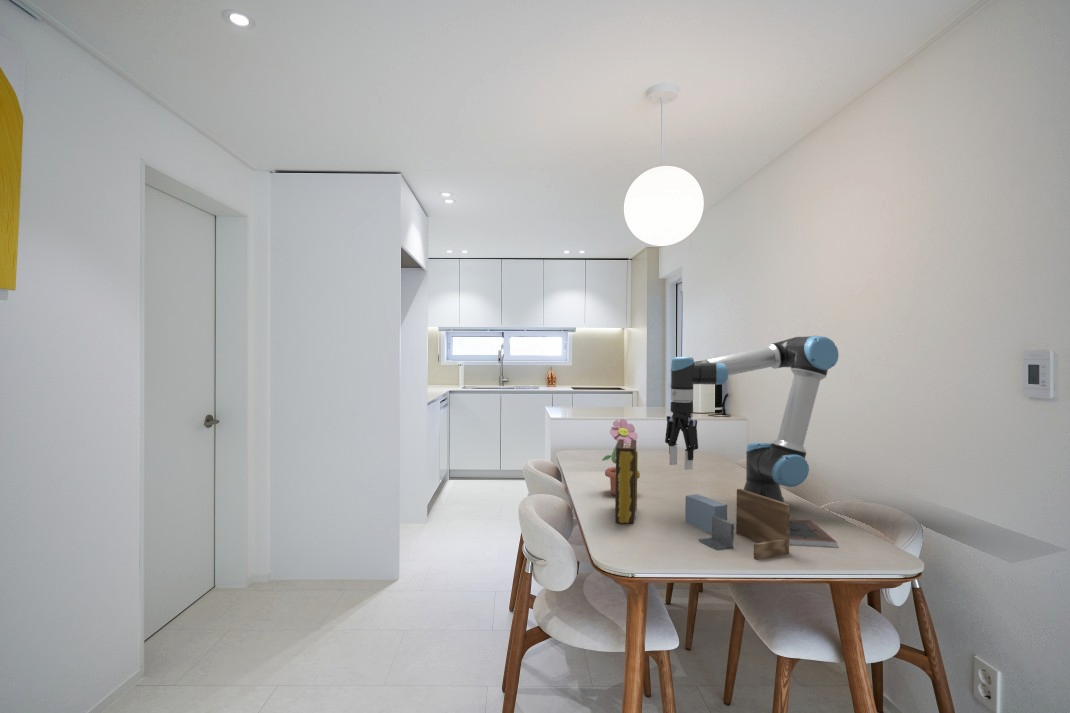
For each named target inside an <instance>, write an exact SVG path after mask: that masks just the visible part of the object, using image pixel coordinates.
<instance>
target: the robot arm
mask: <svg viewBox="0 0 1070 713" xmlns="http://www.w3.org/2000/svg"><path fill="white" fill-rule="evenodd" d="M839 355H840V354H839V349H838V347H837V345H836V344H835V342H834V340H832V339H830V338H829V337H826V336H822V335H821V336H819V335H812V336H811V335H810V336H809V335H807V336H795V337H791V338H790V337H789V338H787V339H785V340H781V341H777V342H774V343H768V344H767V345H766V347H762V348H761V347H760V348H758V349H751V350H748V351H747V350H746V351H743V352H736V353H732V354H728V355H727V354H726V355H721V356H717V357H713V358H708V359H703V360H698V361H695V360H694V358H693V357H692V356H690V357H689V356H674V357H673V358H672V359H671V363H670V365H671V366H670V400H671V401H670V412H671V413H672V415H667V416H666V428H665V429H666V430H665V438H664V442H665V444H667V445H668V448H669V449H668V454H669V465H670V466H676V465H678V444H677V442H678V439H679V435H680V431H681V432H682V435H683V439H684V444H685V449H684V470H685V471H687V470H693V460H694V452H695V450H698V449H699V440H698V438H699V437H698V430H697V427H698V420H697V419H693V418H692V417H691V416H692V415H691V414H692V413H693V412H694V402H692V401H693V400H694V385H715V386H718V385H724V384H726V383H727V381H728V379H729V376H732V375H738V374H742V373H747V372H753V371H758V370H762V369H768V368H771V369H774V370H775V369H780V368H790V370H791V372H792V374H793V378H792V382H791V385H790V389H789V393H788V397H787V401H786V405H785V408H784V413H783V416H782V421H781V423H780V427H779V431H778V435H777V438H776V439H775V440H773V441H772V442H750V443H748V444H747V445H746V450H745V451H746V468H745V469H746V475H745V477H746V478H745V479H746V480H745V484H744V488H743V490H746V491H749V492H752V493H755V494H758V495H762V496H765V497H768V498H771V499H774V500H777V501H780V502H784V503H785V498H784V497H783V495H782V494H783V493H782V489H781V486H784V487H788V488H794V487H797V486H799V485H800V484H803V483H804V482H805V481H806V480H807V478H808V475H809V472H810V467H809V466H810V465H809V464H808V461H807V460H806V456H807V451H806V449H805V447H804V444H805V441H806V437H807V433H808V432H807V431H808V429H809V425H810V422H811V417H812V413H813V409H814V405H815V402H816V401H815V400H816V398H817V394H818V391H819V387H820V382H821V381H822V380H824V379H825V378H827V375H828V370H830V369H832V368H833V367H835V365H836V364H837V363H838V361H839Z"/></svg>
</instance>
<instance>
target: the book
mask: <svg viewBox="0 0 1070 713" xmlns="http://www.w3.org/2000/svg"><path fill="white" fill-rule="evenodd" d="M616 444H617V446H616V445H615V446H616V464H615V467H616V471H615V476H616V495H614V496H615V499H614V500H615V501H614V503H615V506H614V507H615V508H614V513H615V514H614V517H615V518H614V521H615V523H616V524H619V525H626V524H632V525H634V524H635V519H636V512H637V511H638V479H639V478H640V477H639V473H640V471H639V470H638V458H639V457H638V456H639V455H638V454H639V453H638V452H639V451H638V450H637V439H636V440H634V439H633V440H631V444H630V445H626V444H624V440H623V439H619V440H618V443H617V442H616Z"/></svg>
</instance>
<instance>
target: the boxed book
mask: <svg viewBox="0 0 1070 713" xmlns="http://www.w3.org/2000/svg"><path fill="white" fill-rule="evenodd" d="M684 515H685V516H684V517H685V518H684V519H685V520H684V522H685V523H686V522H687V523H686V524H689V525H691V526H694V527H695V528H698V529H700V530H702V531H704V532H707V533H709V534H711V535H712V516H716V517H719V518H721V519H723V520H726V521H728V504H725V503H722V502H720V501H717V500H715V499H712V498H709V497H706V496H705V495H701V494H698V493H696V494H687V495H685V511H684Z"/></svg>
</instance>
